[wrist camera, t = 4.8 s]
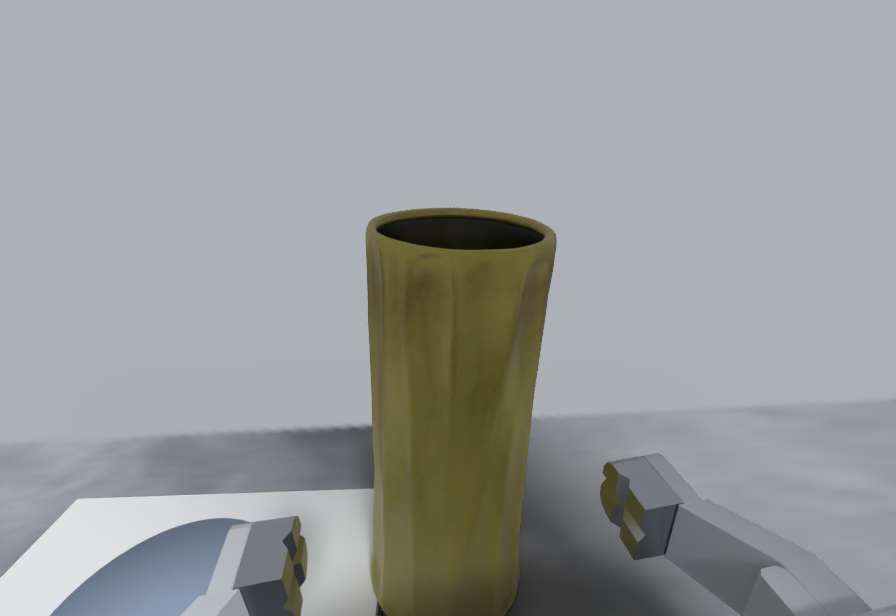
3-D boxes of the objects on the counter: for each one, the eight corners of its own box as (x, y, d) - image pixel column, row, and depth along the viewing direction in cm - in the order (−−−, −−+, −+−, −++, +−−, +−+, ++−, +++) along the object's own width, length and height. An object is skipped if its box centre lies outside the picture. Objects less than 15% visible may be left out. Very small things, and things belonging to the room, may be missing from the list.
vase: (496, 681, 14) (557, 275, 8) (339, 605, 16) (295, 235, 10) (531, 529, 19) (584, 216, 13) (411, 486, 21) (409, 198, 15)
